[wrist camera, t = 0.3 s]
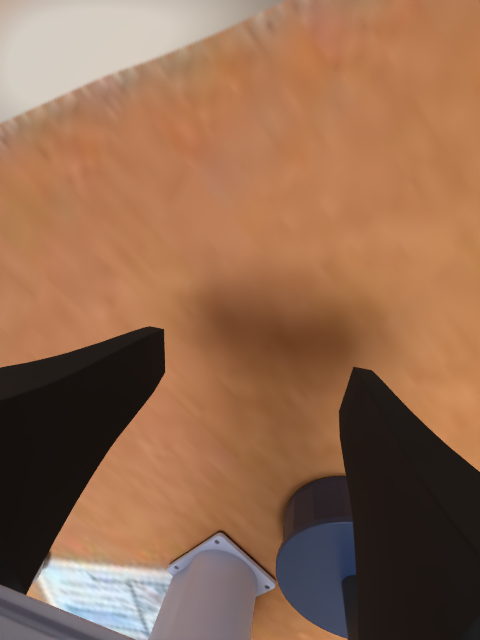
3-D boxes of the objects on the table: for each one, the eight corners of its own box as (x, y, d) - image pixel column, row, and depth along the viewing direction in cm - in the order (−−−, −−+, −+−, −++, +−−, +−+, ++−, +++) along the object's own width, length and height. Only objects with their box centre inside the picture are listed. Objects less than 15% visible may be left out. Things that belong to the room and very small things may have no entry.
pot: (344, 589, 27) (351, 646, 23) (260, 513, 26) (253, 559, 23) (449, 543, 23) (478, 602, 19) (353, 453, 23) (364, 496, 19)
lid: (349, 642, 24) (360, 731, 20) (246, 549, 23) (234, 620, 19) (484, 594, 20) (536, 694, 15) (363, 480, 19) (381, 550, 15)
